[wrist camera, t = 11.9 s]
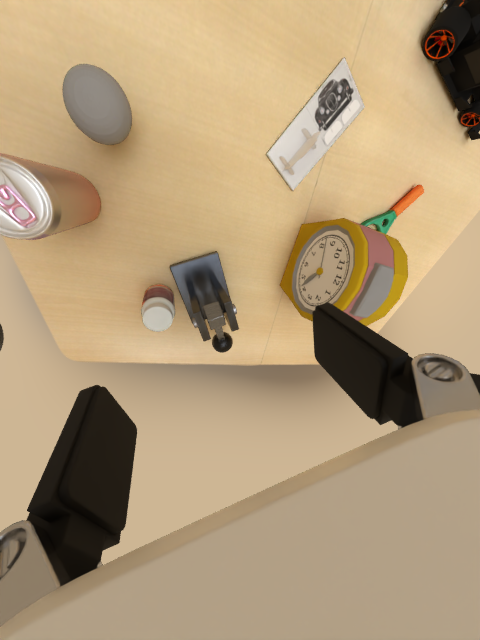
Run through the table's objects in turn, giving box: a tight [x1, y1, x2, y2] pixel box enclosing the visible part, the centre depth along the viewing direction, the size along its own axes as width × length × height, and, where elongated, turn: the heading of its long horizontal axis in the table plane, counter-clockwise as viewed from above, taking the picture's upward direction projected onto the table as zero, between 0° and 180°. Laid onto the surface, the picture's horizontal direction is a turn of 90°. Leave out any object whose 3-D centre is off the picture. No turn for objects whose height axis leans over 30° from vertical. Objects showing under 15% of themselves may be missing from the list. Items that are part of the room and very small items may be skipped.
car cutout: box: [266, 57, 365, 191], centre depth 31 cm, size 15×7×4 cm, turn 136°
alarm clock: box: [280, 218, 408, 326], centre depth 35 cm, size 15×8×18 cm, turn 163°
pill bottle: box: [141, 284, 175, 332], centre depth 35 cm, size 5×5×8 cm
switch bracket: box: [170, 251, 239, 341], centre depth 34 cm, size 11×8×13 cm
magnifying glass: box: [361, 185, 424, 234], centre depth 43 cm, size 15×6×2 cm, turn 132°
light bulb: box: [63, 64, 132, 145], centre depth 23 cm, size 6×6×10 cm
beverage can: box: [0, 153, 101, 240], centre depth 23 cm, size 6×6×15 cm
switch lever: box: [203, 301, 233, 352], centre depth 35 cm, size 13×4×4 cm
